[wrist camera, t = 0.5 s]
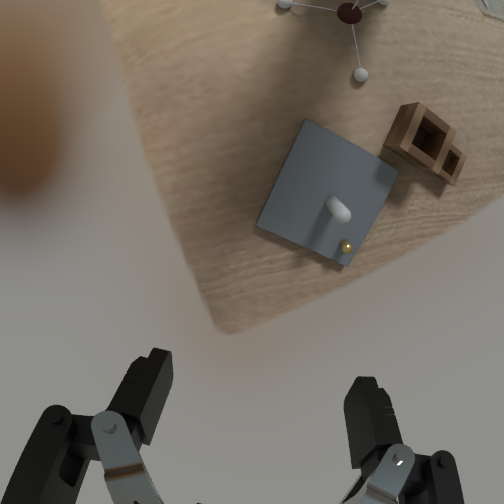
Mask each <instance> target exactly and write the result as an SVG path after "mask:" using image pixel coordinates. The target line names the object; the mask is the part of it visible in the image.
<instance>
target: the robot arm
mask: <svg viewBox="0 0 504 504" xmlns="http://www.w3.org/2000/svg"><path fill="white" fill-rule="evenodd" d="M172 382H173V365H172V353H171V351H167V350H162V349H159V348H153V349H152V351H151V353H150V355H149V357H148V358H146V357H142V356H140V357H139V358H138V359H136V360H135V361H134V362H132V364H131V365H130V367H129V369H128V371H127V374H125V376H124V378H123V381H122V382H121V384H120V385H119V387H118V389H117V391H116V393H115V395H114V397H113V399H112V401H111V402H110V404H109V406H108V408H107V409H106V410H105V411H102V412H100V413H98V414H96V415H95V416H83V415H73V414H71V413H70V411H69V410H68V409H67V408H66V407H64V406H61V405H52V406H50V407H48V408H47V409H45V411H44V412H43V414H42V416H41V417H40V419H39V421H38V423H37V425H36V427H35V429H34V430H33V433H32V434H31V436H30V438H29V440H28V442H27V444H26V446H25V448H24V450H23V452H22V454H21V457H20V459H19V461H18V463H17V465H16V467H15V470H14V472H13V475H12V476H11V479H10V481H9V484H8V486H7V489H6V491H5V494H4V496H3V499H2V501H1V504H75V503H76V500H77V497H78V493H79V491H80V487H81V485H82V482H83V479H84V476H85V473H86V471H87V468H88V465H89V462H90V460H97V461H101V462H102V465H103V468H104V472H105V474H104V479H105V482H106V485H107V488H108V490H109V493H110V495H111V498H112V500H113V503H114V504H164V502H163V501H162V499H161V497H160V495H159V493H158V491H157V490H156V488H155V486H154V484H153V482H152V480H151V478H150V476H149V473H148V472H147V469H146V467H145V465H144V463H143V460H142V458H141V456H140V453H139V450H140V448H141V445H142V443H143V444H146V445H150V443H151V440H152V437H153V435H154V432H155V429H156V426H157V424H158V421H159V418H160V415H161V413H162V410H163V407H164V405H165V402H166V399H167V397H168V394H169V391H170V389H171V386H172ZM344 414H345V420H346V427H347V433H348V441H349V448H350V456H351V464H352V469H358V468H361V474H360V475H359V477H358V478H357V480H356V481H355V482H354V484H353V485H352V487H351V488H350V490H349V491H348V492H347V494H346V495H345V496H344V498H343V499H342V500H341V502H340V503H339V504H398V502H397V501H396V499H397V496H398V500H399V504H464V499H463V494H462V489H461V484H460V480H459V475H458V471H457V467H456V463H455V459H454V457H453V456H452V454H451V453H449V452H448V451H445V450H440V451H437V452H436V453H434V454H433V455H432V456H427V455H419V454H415V453H414V452H413V451H412V449H411V448H410V447H408V446H407V445H404V444H403V442H402V438H401V434H400V431H399V427H398V423H397V420H396V416H395V415H394V410H393V408H392V403H391V400H390V397H389V395H388V394H387V393H386V391H385V390H384V389H383V388H378V385H377V382H376V379H375V377H361V376H358V377H357V378H356V379H355V381H354V383H353V385H352V387H351V388H350V390H349V392H348V394H347V395H346V397H345V400H344ZM197 504H200V503H197Z"/></svg>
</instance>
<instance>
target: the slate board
mask: <svg viewBox="0 0 504 504" xmlns="http://www.w3.org/2000/svg"><path fill="white" fill-rule="evenodd" d="M399 172H400V171H398V170H397V169H395V168H393V167H392V166H390V165H389V164H387V163H385V162H384V161H382V160H381V159H379V158H377V157H376V156H374V155H372V154H371V153H369V152H367V151H366V150H364V149H362V148H360V147H359V146H357V145H355V144H353V143H351V142H350V141H348V140H346V139H344V138H342V137H340V136H339V135H337V134H335V133H333V132H331V131H329V130H327V129H325V128H323V127H321V126H319V125H317V124H315V123H313V122H311V121H309V120H307V119H305V120H304V122H303V124H302V126H301V128H300V131H299V133H298V135H297V137H296V139H295V141H294V143H293V145H292V148H291V150H290V152H289V154H288V156H287V158H286V160H285V162H284V165H283V167H282V169H281V171H280V173H279V175H278V177H277V180H276V182H275V184H274V186H273V188H272V190H271V192H270V195H269V197H268V199H267V201H266V203H265V205H264V208H263V210H262V212H261V214H260V216H259V218H258V220H257V223H256V226H258V227H260V228H263V229H265V230H267V231H269V232H272V233H274V234H276V235H278V236H281V237H283V238H285V239H287V240H290V241H292V242H294V243H296V244H299V245H301V246H303V247H305V248H307V249H310V250H312V251H314V252H316V253H318V254H321V255H323V256H325V257H327V258H329V259H331V260H334V261H336V262H338V263H340V264H342V265H344V266H347V267H348V266H349V264H350V262H351V261H352V259H353V257H354V256H355V254H356V252H357V250H358V249H359V247H360V245H361V244H362V242H363V240H364V238H365V237H366V235H367V233H368V231H369V229H370V228H371V226H372V224H373V222H374V220H375V219H376V217H377V215H378V213H379V211H380V209H381V207H382V205H383V204H384V202H385V200H386V198H387V196H388V194H389V192H390V190H391V188H392V186H393V184H394V182H395V180H396V178H397V176H398V174H399ZM342 239H347V240H348V242H349V243H350V245H351V246H352V248H353V250H352V252H351V253H350V254H345V253H344V252H343V250H342V248H341V247H340V241H341V240H342Z"/></svg>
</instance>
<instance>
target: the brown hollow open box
mask: <svg viewBox="0 0 504 504" xmlns="http://www.w3.org/2000/svg"><path fill="white" fill-rule="evenodd" d="M418 127H420V128H421V129H422V130H424V131H425V132H426V133H427V135H426V137H425V140H424V142H423V144H422V146H421V149H418V148H417V147H416V146H414V145H413V144H411V143H412V141H413V139H414V136H415V134H416V132H417V130H418ZM455 134H456V131H455V130H454V129H452V128H451V127H450V126H449V125H448V124H447V123H445V122H444V121H443V120H442V119H440V118H439V117H438V116H437V115H435V114H434V113H433V112H432V111H430V110H429V109H428V108H426V107H425V106H424V105H422V104H421V103H420V102H417V103H412V104H406V105H401V107H400V109H399V112H398V114H397V116H396V119H395V121H394V123H393V125H392V127H391V130H390V132H389V134H388V136H387V138H386V141H385V143H384V145H385V146H386V147H388V148H389V149H391V150H392V151H394V152H396V153H397V154H399V155H400V156H402V157H403V158H405V159H406V160H408V161H409V162H410V163H412V164H413V165H415V166H416V167H418V168H419V169H422V170H425V171H429V172H432V173H434V174H435V175H437V176H438V177H439V178H440V179H442V180H443V181H444V182H446V183H447V184H450V185H453V186H454V185H455V183H456V181H457V179H458V176H459V174H460V172H461V169H462V167H463V165H464V162H465V160H466V156H465V155H464V154H463V153H462V152H460V151H459V150H458V149H457V148H456V147H455V146H454V145H452V142H453V140H454V137H455ZM448 153H449V154H450V155H451V156H452V158H451V160H450V162H449V165H448V167H447V169H446V172H445V171H444V170H443V169H441V168H442V166H443V163H444V161H445V159H446V156H447V154H448Z"/></svg>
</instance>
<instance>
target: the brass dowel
mask: <svg viewBox="0 0 504 504" xmlns="http://www.w3.org/2000/svg"><path fill="white" fill-rule="evenodd" d="M340 247H341V248H342V250H343V252H344V253H345V254H350V253H351V252H352V250H353V248H352V246H351V245H350V243H349V242H348V240H347V239H342V240H341V241H340Z"/></svg>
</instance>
